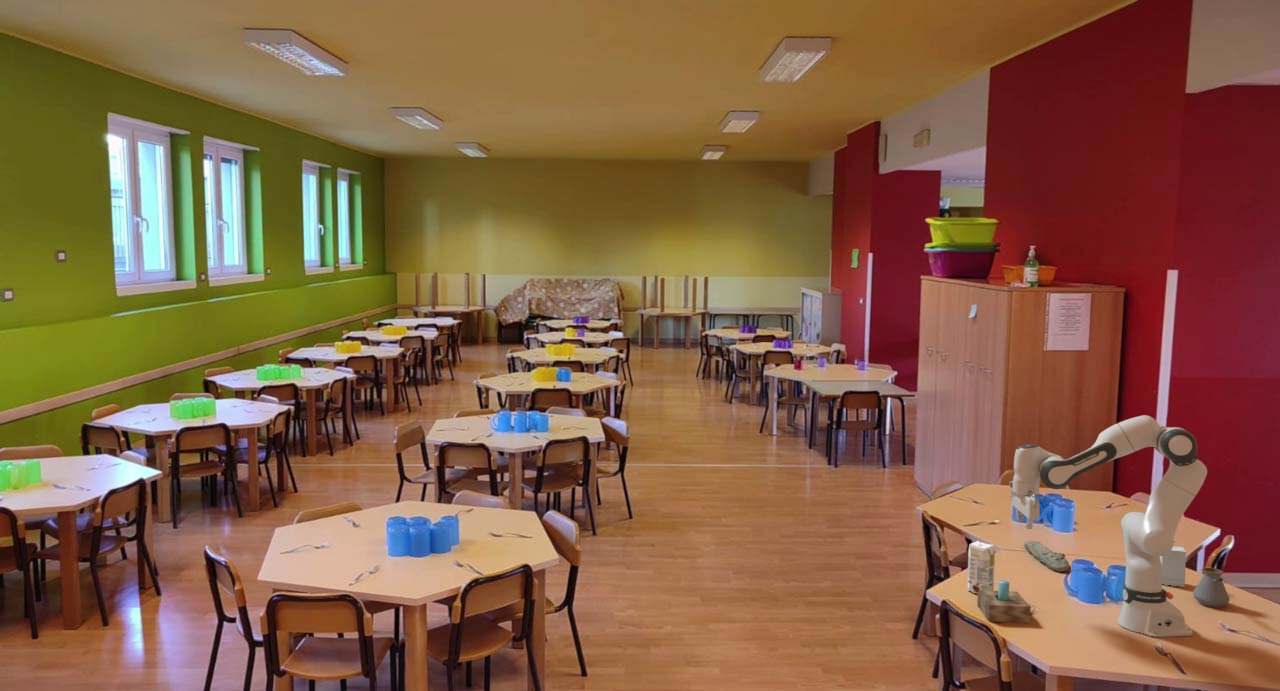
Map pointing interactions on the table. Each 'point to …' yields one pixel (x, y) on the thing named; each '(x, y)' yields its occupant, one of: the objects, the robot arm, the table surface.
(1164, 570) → the skincare box
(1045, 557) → the long grey stone
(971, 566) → the juice carton
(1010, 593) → the socket block
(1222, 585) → the coffee pot
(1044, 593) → the table surface
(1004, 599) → the peg
